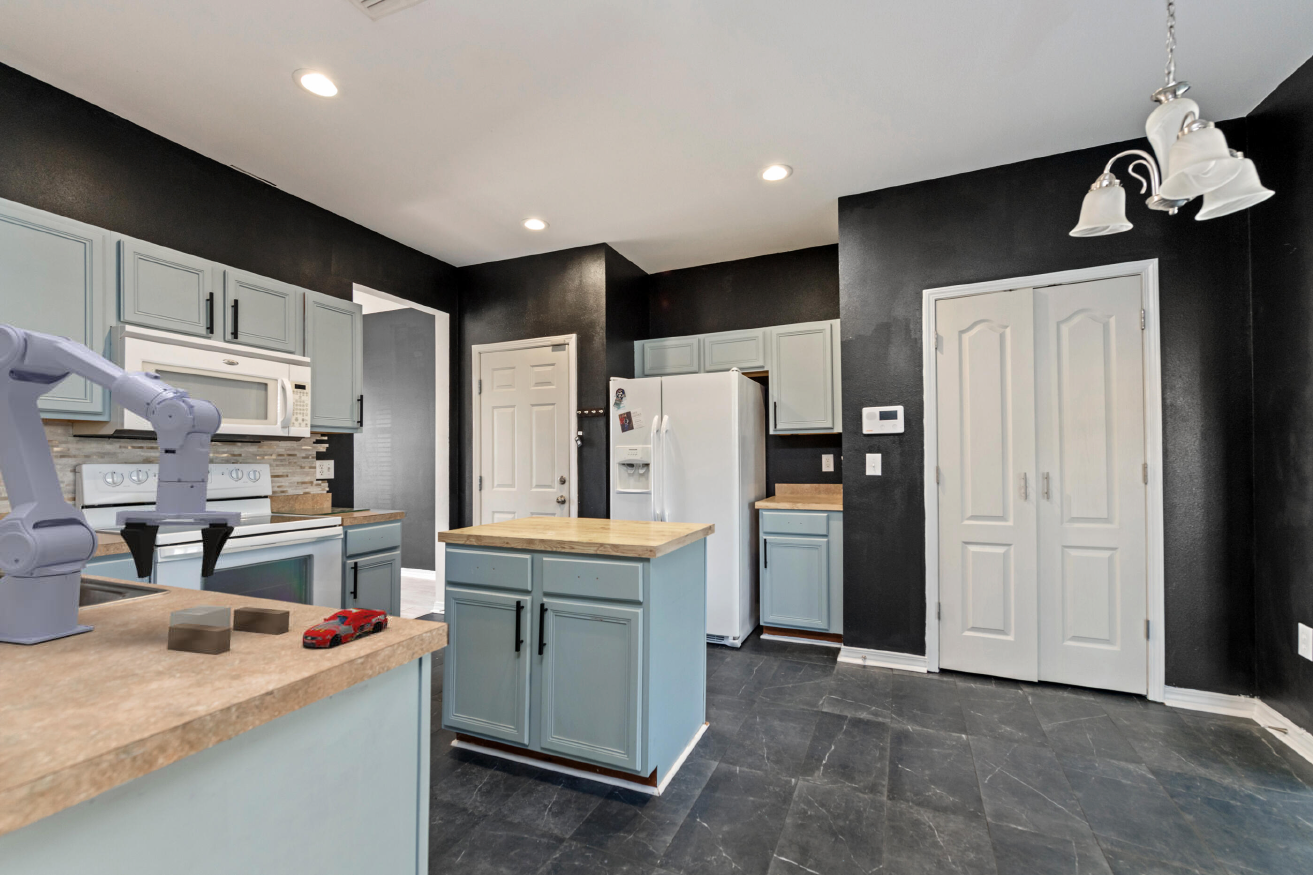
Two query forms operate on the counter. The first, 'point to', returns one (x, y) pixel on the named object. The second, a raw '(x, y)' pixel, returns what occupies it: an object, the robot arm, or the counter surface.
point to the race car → (345, 627)
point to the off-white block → (202, 616)
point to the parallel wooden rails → (226, 630)
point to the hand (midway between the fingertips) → (176, 576)
